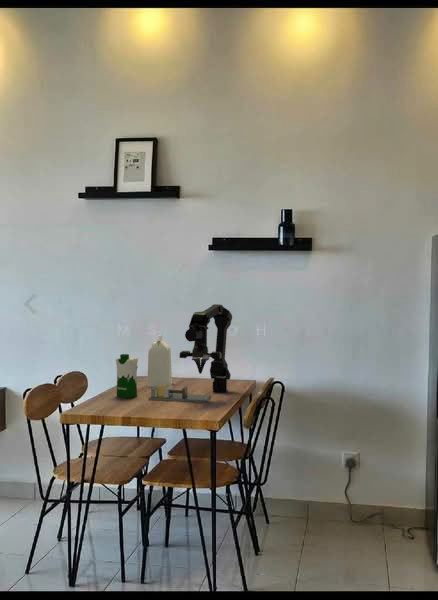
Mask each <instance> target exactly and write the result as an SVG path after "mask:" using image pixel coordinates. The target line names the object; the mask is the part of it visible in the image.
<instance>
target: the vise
mask: <svg viewBox="0 0 438 600" xmlns="http://www.w3.org/2000/svg"><path fill="white" fill-rule="evenodd" d="M158 386H159V385H156V386H155V387H151V389H150V396H149V397H147V398H148V401H166V402H168V401H169V402H189V403H207V402H208V401H209V400H210V399H211V398H212V394H193V393H192V394H191V393H190V394H189V393H187V396H186V397H185V398H184V397H182V394H178V393H173V394H172V395H171V396H170V397H169V398H164V397H157V392H158Z"/></svg>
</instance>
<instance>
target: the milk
mask: <svg viewBox="0 0 438 600" xmlns="http://www.w3.org/2000/svg"><path fill="white" fill-rule="evenodd" d="M171 352H172V351H171V347H170V346H169V345H168V343H166V342H165V341H164V340H163V334H158V335H157V341H154V342H153V343H152V344H151V347H150V348H149V349H148V353H147V354H148V356H147V359H148V360H147V376H146V377H147V380H146V382H147V383H146V387H148V388H149V387H150V388H153V387H155V386H156V385H160V384H169V385H173V380H172V353H171Z"/></svg>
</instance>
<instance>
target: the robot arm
mask: <svg viewBox="0 0 438 600" xmlns="http://www.w3.org/2000/svg"><path fill="white" fill-rule="evenodd" d="M192 314H193V315H192V316H191V319H190V322H189V325H188V329H187V330H186V331H185V334H184V337H185V339H186V340H187V341H188V342H191V343H192V342H194V345H193V348H192V350H191V351H190V350H181V351H180V352H179V358H180V359H187V358H188V357H191V360H192V361H193V362H194V363H195V365H196V366H197V367H196V368H197V369H198V374H202V373H203V371H204V367H205V366H206V365H205V364H206V363H207V361H209V360H210V358H211V359H213V360H212V361H211V362H210V369H209V374H210V379H211V380H213V381H212V393H213V392H214V393H227V392H228V391H229V389H228V381H229V380H231V372H230V370H229V368H228V366H229V365H228V363H227V361H226V349H227V348H226V347H227V346H226V345H227V335H228V329H229V328H230V326H231V323H232V321H233V314H232V313H231V311H230V309H227V308H226V307H224V306H223V304H218V303H217V304H214V303H213V304H212V305H211V306H210V307H208V308H206V309H205V310H202V311H195V312H194V313H192ZM211 319H213V320H214V325H215V327H216V329H217V330H216V342H215V351H212V352H209V348H208V330H209V327H208V325H209V323H211Z"/></svg>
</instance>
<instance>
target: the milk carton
mask: <svg viewBox="0 0 438 600" xmlns="http://www.w3.org/2000/svg"><path fill="white" fill-rule="evenodd" d="M138 362H139V358H137V357H136V358H135V357H130V354H128V353H123V354H122V353H121V354H120V358H118V357H117V358H116V359H115V363H116V364H115V365H116V398H122V399H131V398H135V397H137V396H138V391H137V390H138V387H137V386H138V385H137V381H138V380H137V379H138V378H137V375H138V374H137V373H138V372H137V371H138V368H137V366H138Z"/></svg>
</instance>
